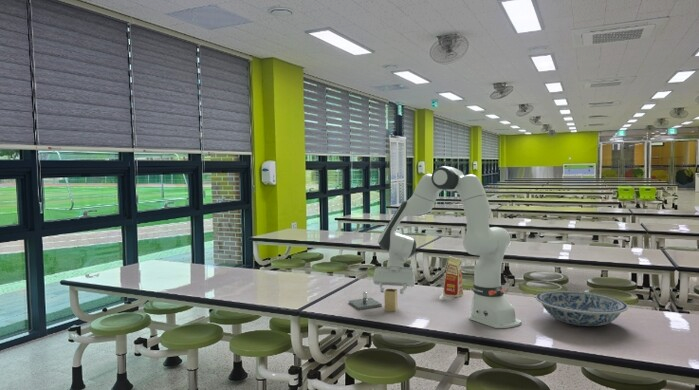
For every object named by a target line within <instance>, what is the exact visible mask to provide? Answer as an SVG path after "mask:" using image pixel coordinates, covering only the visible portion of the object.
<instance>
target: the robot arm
mask: <svg viewBox="0 0 699 390" xmlns="http://www.w3.org/2000/svg"><path fill="white" fill-rule="evenodd" d="M442 191H446V192H457V193H458V195H459V197H460V200H461V203H462V207H463V210H464V211H463V212H464V215H465V219H466V233H465V235H464V237H463V240H462V245H463V249H464V250H465V252H466V253H468V254H469V255H471V256H472V255H473V256H479V257H478V260H477V262H476V263H475V264H474V267H473V268H474V269H473V271H474V272H473V273H474V275H473V276H474V277H473V278H474V283H473V285H472V286H473V287H472V290H473V297H472V300H471V309H470V315H469V317H468V319H469V320H471V321H474V322H477V323H478V324H479V323H480V324H483V325H486V326H488V327H492V328H495V329H507V328H508V329H509V328H513V327H517V326H520V325H522V323H523V322H522V320H520V319H519V318H517V317H516V309H515V307H514V306H513V304H511V303H510V302H509V300H508V299H507V298H506V297H505V295H504V293H505V292H506V291H505V290H506V289H503V286H502V284H501V281H502V280H501V277H502V276H501V275H502V274H501V272H502V264H503V260H504V257H505V253H506V251H507V249H508V247H509V246H510V243H511V240H512V239H511V234H510V233H509V232H508V230H507V229H505V228H504V227H499V226H492V227H490V216H491V215H492V208H491V205H490V203H489V200H488V196H487V193H486V190H485V188H484V185H483V183H482V182H481V180H480V178H479V176H477V175H476V174H465V172H464V171H462V170H461V169H458V168H455V167H454V166H452V167H451V166H446V165H444V166H443V165H442V166H439V167H437V168H434V170H433V171H432V173H427V174H424V175H422V177H421V178H420V179H419V181H418V183H417V184H416V187H415V189H414V191H413V193H412V194H411V197H409V199H407V200H404V201H402V202H401V203H400V205H399V206H398V208H397V209H396V210H395V212H394V213H393V215H392V217H391V218H390V219H389V221H388V224H387V225H386V226H385V228H384V230H382V232H381V233H380V235H379V238H378V242H377V243H378V246H379V247H380V249H381V250H382V251H388V259H387V263H386V266H377V267H375V268H374V271H373V272H374V273H373V277H372V282H373V284H374V285H379V287H380V293H383V294H384V291H385V287H383V286H393V287H394V286H395V287H402V288H400V290H399V294H400V295H403V294H404V293H405V291H406V289H407V287H409V288H410V287H411V288H412V287H414V286H415V285H416V279H415V278H416V277H415V273H414V272H415V270H414V266H413V264H412V263H408V262H406V260H407V259H409V258H411V257H414V255H415V254H416V251H417V250H416V249H417V242H416V240H415V238H414V237H412V236H408V235H404V234H401V233H399V232H396V230H397V229H398V227H399V226H400V224H401V222H402V220H403V219H404V218H405V217H409V216H423V215H426V214H428V213H430V212H431V211H432V209H433V208H434V206H435V204H436V201H437V198H438V196H439V194H440V193H441V192H442Z"/></svg>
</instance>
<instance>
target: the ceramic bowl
mask: <svg viewBox="0 0 699 390" xmlns="http://www.w3.org/2000/svg"><path fill="white" fill-rule="evenodd" d="M535 299H536V301H537V302H538V303H540V304H541V305H542V306H543V308H544V309H545V312H547V313H548V314H549V315H550V316H552V318H555V320H558V321H560V322H563V323H565V324H571V325H574V326H580V327H582V326H583V327H598V326H603V325H607V324H610V323H612V322H613V321H615V320H616V319H617V318H618V317H619V316H620V315H621V313H624V312H626V311H627V310H628V309H629V305H628V304H627V303H626V302H624V301H622V300H620V299H617V298H616V297H615V298H614V297H612V296H607V295H604V294H599V293H594V292H593V293H592V292H586V291H578V290H549V291H543V292H540V293H537V294H536V295H535Z"/></svg>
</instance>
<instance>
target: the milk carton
mask: <svg viewBox="0 0 699 390" xmlns="http://www.w3.org/2000/svg"><path fill="white" fill-rule="evenodd" d="M463 260H464V259H463V258H456V257H454V256H451V255H448V261H447V266H446V269H445V275H444V280H443V281H444V282H443V288H442V289H443V293H442V294H443V295H442V297H443V296H445V297H451V298H452V297H454V298H459V297H463V296H464V291H463V271H462V262H463Z"/></svg>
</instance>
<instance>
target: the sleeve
mask: <svg viewBox="0 0 699 390" xmlns="http://www.w3.org/2000/svg"><path fill="white" fill-rule="evenodd" d="M383 294H384V311H385V312H387V311H388V312H396V311H397V309H398V289H397V288H386V289H384V293H383Z"/></svg>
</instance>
